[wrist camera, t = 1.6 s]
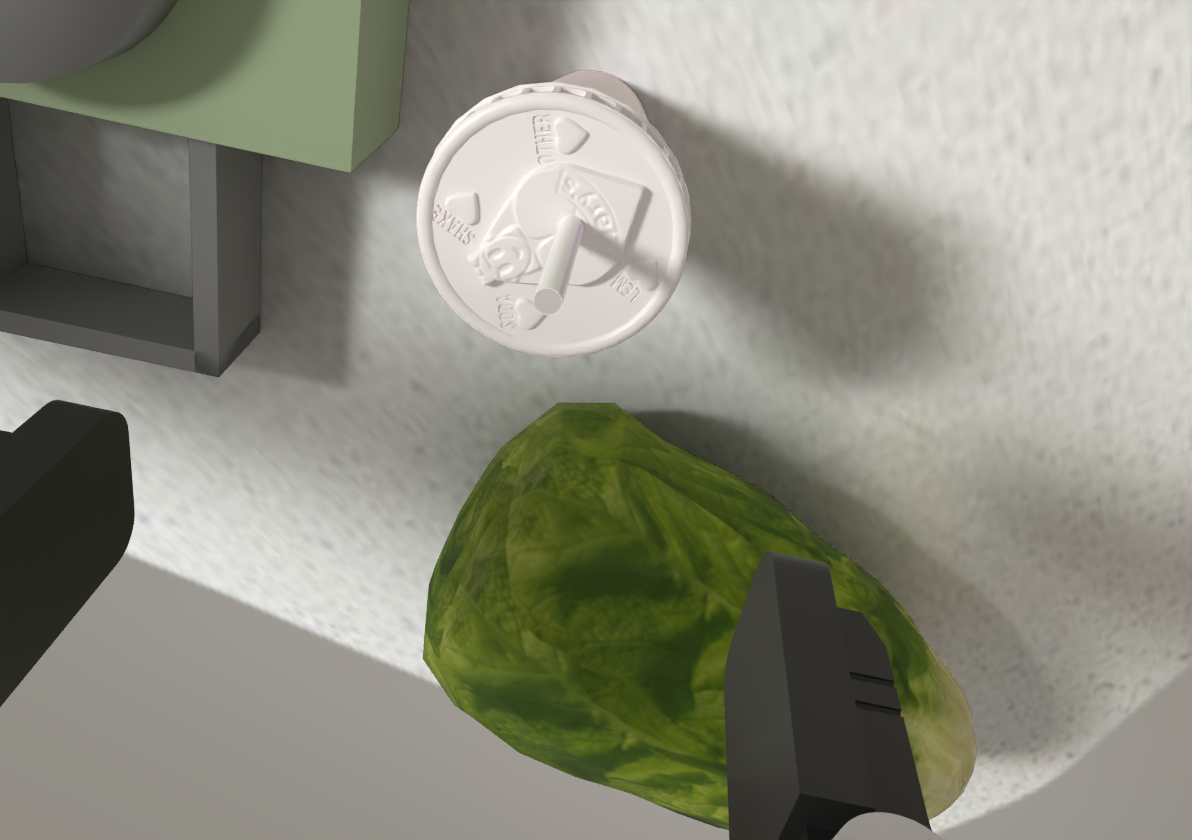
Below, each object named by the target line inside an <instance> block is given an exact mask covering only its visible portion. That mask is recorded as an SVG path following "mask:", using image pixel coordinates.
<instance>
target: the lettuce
mask: <svg viewBox="0 0 1192 840" xmlns="http://www.w3.org/2000/svg"><path fill="white" fill-rule="evenodd" d="M767 551H772V552H777V553H781V554H786V555H791V556H796V557H800V558H805V559H810V560H815V561H819V562H824V563H826V564H827V565H828V567H829V570H830V574H831V579H832V584H833V589H834V595H835V600H836V605H837V607H839V608H844V609H849V610H854V611H858V612H862V613H863V614H864V616H865V617H866V619H867V620H868V621H869V623H870V624H871V626H872V627H873V629H874V630H875V631H876V633H877V634H878V636H879V637H880V638H881V640H882V641H883V643H884V644H885V645H886V648H887V652H888V656H889V661H890V665H891V669H892V673H893V677H894V687H895V688H896V689H897V693H898V697H899V701H900V705H901V709H902V710H901V717H904V722H905V726H906V730H907V734H908V738H909V742H910V746H911V750H912V754H913V758H914V762H915V766H916V770H917V774H918V778H919V783H920V787H921V791H922V795H923V799H924V803H925V807H926V811H927V815H928V819H929V820H930V819H932V818H934V817H936V816H938V815H939V814H941V813H942V812H943V811H945V810H946V809H947V808H949V807H950V806H951V805H952V804H953V803H954V802H955V801H956V800H957V798H958V797H959V796H960V795H961V794H962V793H963V792H964V790H965V788H966V786H967V784H968V782H969V780H970V778H971V776H972V774H973V770H974V764H975V759H976V753H977V750H976V742H975V735H974V727H973V720H972V713H971V711H970V708H969V705H968V703H967V700H966V698H965V695H964V694H963V692H962V690H961V689H960V687H959V685H958V684H957V682H956V680H955V679H954V677H953V676H952V674H951V673H950V672H949V670H948V669H947V668H946V667H945V665H944V664H943V663H942V662H941V661H940V659H939V658H938V657H937V656H936V654H935V653H934V652H933V651H932V650H931V648H930V647H929V646H928V645H927V644H926V642H925V641H924V639H923V637H922V636H921V634H920V632H919V631H918V629H917V627H916V626H915V624H914V622H913V621H912V619H911V617H910V616H909V614H908V612H907V611H906V610H905V609H904V608H903V607H902V606H901V605H900V604H899V603H898V602H897V600H896V599H895V598H894V597H893V596H892V595H891V594H890V593H889V592H888V591H887V590H886V589H885V588H884V587H883V585H882V584H881V583H879V582H878V581H877V580H876V579H874V578H873V577H872V576H871V575H869V574H868V573H867V572H866V571H864V570H863V569H862V568H861V567H859V566H858V565H857V564H856V563H854V562H853V561H852V560H851V559H849V558H848V557H847V556H845V555H844V554H842V553H841V552H839V551H838V550H836V549H835V548H834V547H832V546H831V545H829V544H828V543H826V542H825V541H824V540H822V539H821V538H819V537H818V536H816V535H815V534H814V533H813V532H812V531H810V530H809V529H808V528H807V527H806V526H805V525H804V524H803V523H802V522H801V521H800V520H798V519H797V518H796V517H795V516H794V515H793V514H792V513H791V512H790V511H789V510H787V509H786V508H785V507H784V506H783V505H782V504H781V503H780V502H779V501H778V500H776V499H775V498H774V497H773V496H771V495H770V494H768V493H766V492H764V491H762V490H760V489H759V488H757V487H755V486H753V485H751V484H749V483H748V482H746V481H744V480H742V479H740V478H738V477H737V476H735V475H733V474H731V473H729V472H727V471H726V470H724V469H722V468H720V467H718V466H716V465H714V464H712V463H710V462H708V461H705V460H703V459H701V458H699V457H697V456H695V455H693V454H691V453H689V452H687V451H685V450H683V449H681V448H678V447H676V446H674V445H672V444H670V443H668V442H666V441H665V440H663V439H662V438H661V437H659V436H658V435H657V434H655V433H654V432H653V431H651V430H650V429H649V428H647V427H646V426H645V425H643V424H642V423H641V422H639V421H638V420H637V419H635V418H634V417H633V416H631V415H630V414H629V413H627V412H626V411H625V410H623V409H622V408H621V407H619V406H618V405H617V404H615V403H558V404H556V405H555V406H554V407H552V408H551V409H550V410H549V411H547V412H546V413H545V414H543V415H542V416H541V417H540V418H538V419H537V420H536V421H534V422H533V423H532V424H531V425H529V426H528V427H527V428H526V429H524V430H523V431H522V432H521V433H519V434H518V435H517V436H515V437H514V438H513V439H512V440H510V441H509V442H508V443H507V444H505V445H504V446H503V447H502V448H501V449H500V451H499V452H498V453H497V455H496V456H495V457H494V459H493V460H492V461H491V463H490V464H489V466H488V467H487V469H486V470H485V472H484V473H483V475H482V477H481V478H480V480H479V481H478V483H477V484H476V486H475V488H474V489H473V491H472V492H471V494H470V496H469V497H468V499H467V501H466V502H465V504H464V506H463V507H462V509H461V510H460V512H459V515H458V517H457V519H456V521H455V523H454V525H453V527H452V530H451V532H450V534H449V536H448V538H447V540H446V542H445V545H444V547H443V549H442V552H441V554H440V556H439V559H438V561H437V563H436V565H435V568H434V571H433V574H432V577H431V580H430V583H429V590H428V601H427V613H426V624H425V635H424V650H423V660H424V661H425V663H426V664H427V666H428V667H429V669H430V670H431V672H432V673H433V674H434V676H435V677H436V679H437V680H438V682H439V683H440V685H441V686H442V688H443V689H444V691H445V692H446V694H447V695H448V697H449V698H450V700H451V701H452V702H453V704H454V705H455V706H456V707H458V708H459V709H461V710H462V711H464V712H465V713H467V714H468V715H470V716H471V717H473V718H474V719H475V720H477V721H478V722H479V723H481V724H482V725H483V726H485V727H486V728H487V729H489V730H490V731H491V732H493V733H494V734H495V735H497V736H498V737H499V738H500V739H502V740H503V741H504V742H506V743H507V744H509V745H510V746H511V747H512V748H514V749H515V750H516V751H518V752H519V753H521V754H524V755H526V756H529V757H531V758H533V759H535V760H537V761H540V762H542V763H544V764H547V765H549V766H551V767H554V768H556V769H558V770H561V771H563V772H565V773H568V774H570V775H572V776H575V777H578V778H581V779H584V780H588V781H591V782H595V783H598V784H601V785H604V786H608V787H611V788H615V789H618V790H621V791H624V792H628V793H631V794H633V795H636V796H638V797H640V798H643V799H645V800H648V801H650V802H653V803H655V804H657V805H659V806H662V807H664V808H666V809H669V810H671V811H674V812H676V813H678V814H681V815H684V816H687V817H690V818H692V819H695V820H698V821H701V822H704V823H706V824H709V825H712V826H715V827H718V828H723V829H728V830H729V813H728V787H727V760H726V734H725V707H724V676H725V667H726V661H727V656H728V651H729V647H730V643H731V640H732V637H733V634H734V631H735V629H736V626H737V623H738V620H739V618H740V615H741V612H742V609H743V607H744V604H745V601H746V599H747V596H748V593H749V590H750V588H751V585H752V582H753V579H754V577H755V574H756V571H757V568H758V566H759V563H760V561H761V559H762V557H763V555H764V554H765V553H766V552H767Z"/></svg>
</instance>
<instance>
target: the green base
mask: <svg viewBox="0 0 1192 840" xmlns="http://www.w3.org/2000/svg"><path fill="white" fill-rule="evenodd" d="M408 10H409V0H0V331H2V332H7V333H11V334H16V335H21V336H26V337H30V338H35V339H40V340H45V341H49V342H54V343H59V344H64V345H68V346H73V347H78V348H83V349H87V350H92V351H97V352H101V353H106V354H111V355H116V356H120V357H125V358H130V359H135V360H139V361H144V362H149V363H154V364H158V365H163V366H168V367H173V368H177V369H182V370H187V371H192V372H196V373H201V374H206V375H211V376H215V377H220V375H221V374H222V373H223V372H224V371H225V370H226V369H227V368H228V367H229V366H230V364H231V363H232V362H233V361H234V360H235V359H236V358H237V357H238V356H239V355H240V353H241V352H242V351H243V350H244V349H245V348H246V347H247V346H248V345H249V344H250V342H251V341H252V340H253V339H254V338H255V337H256V336H257V335H258V334H259V333H260V264H261V180H262V154H266V155H271V156H275V157H280V158H284V159H289V160H294V161H298V162H303V163H307V164H312V165H317V166H321V167H326V168H330V169H335V170H340V171H344V172H349V173H351V172H352V171H353V170H354V169H355V168H356V167H357V166H359V165H360V164H361V163H362V162H363V161H364V160H365V159H366V158H367V157H368V156H369V155H370V154H372V153H373V152H374V151H375V150H376V149H377V148H378V147H379V146H380V145H381V144H382V143H383V142H384V141H386V140H387V139H388V138H389V137H390V136H391V135H392V134H393V133H394V132H395V131H396V130H397V129H398V127H399V115H400V103H401V91H402V80H403V68H404V56H405V45H406V33H407V21H408ZM7 98H8V99H13V100H18V101H22V102H27V103H31V104H36V105H41V106H45V107H50V108H54V109H59V110H64V111H68V112H73V113H77V114H82V115H87V116H91V117H96V118H100V119H105V120H110V121H114V122H119V123H123V124H128V125H133V126H137V127H142V128H146V129H151V130H156V131H160V132H165V133H169V134H174V135H179V136H183V137H188V140H189V176H190V211H191V247H192V283H193V298H189V297H184V296H179V295H175V294H170V293H165V292H161V291H156V290H151V289H147V288H142V287H137V286H133V285H128V284H123V283H118V282H114V281H109V280H104V279H100V278H95V277H90V276H86V275H81V274H76V273H71V272H67V271H62V270H57V269H53V268H48V267H43V266H39V265H34V264H29V263H28V262H27V254H26V246H25V238H24V230H23V222H22V213H21V205H20V197H19V189H18V181H17V173H16V165H15V157H14V149H13V141H12V133H11V125H10V117H9V109H8V101H7Z"/></svg>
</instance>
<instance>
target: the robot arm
mask: <svg viewBox="0 0 1192 840" xmlns="http://www.w3.org/2000/svg"><path fill="white" fill-rule="evenodd" d="M133 525H134V498H133V485H132V471H131V458H130V444H129V431H128V425H127V422H126V419H125V417H124V416H123V415H122V414H120V413H118V412H114V411H109V410H104V409H99V408H95V407H90V406H85V405H80V404H76V403H71V402H66V401H61V400H54V401H51V402H49V403H48V404H46V405H45V406H43V407H42V408H41V409H40V410H39V411H38V412H36V413H35V414H34V415H33V416H32V417H30V418H29V419H28V420H27V421H26V422H25V423H23V424H22V425H21V426H20V427H19V428H17V429H16V430H15V431H14V432H13V433H11V432H6V431H1V430H0V707H1V706H2V704H3V703H4V702H5V701H6V699H7V698H8V697H9V695H10V694H11V693H12V692H13V691H14V690H15V688H16V687H17V686H18V685H19V683H20V682H21V681H22V680H23V678H24V677H25V676H26V675H27V674H28V672H29V671H30V670H31V669H32V668H33V666H34V665H35V664H36V663H37V661H38V660H39V659H40V658H41V657H42V655H43V654H44V653H45V652H46V650H47V649H48V648H49V647H50V645H51V644H52V643H53V642H54V640H55V639H56V638H57V637H58V636H59V634H60V633H61V632H62V631H63V630H64V628H65V627H66V626H67V625H68V623H69V622H70V621H71V620H72V618H73V617H74V616H75V615H76V614H77V612H78V611H79V610H80V609H81V607H82V606H83V605H84V604H85V603H86V601H87V600H88V599H89V598H90V596H91V595H92V594H93V593H94V592H95V590H96V589H97V588H98V587H99V585H100V584H101V583H102V582H103V580H104V579H105V578H106V577H107V576H108V574H109V573H110V572H111V571H112V570H113V568H114V567H115V566H116V565H117V563H118V562H119V561H120V559H121V557H122V556H123V554H124V552H125V550H126V548H127V546H128V543H129V540H130V537H131V534H132V530H133ZM724 707H725V734H726V760H727V787H728V813H729V839H730V840H943V839H942V838H941V837H940V836H938V835H937V834H936V833H934V832H933V831H932V830H931V827H930V823H929V819H928V815H927V811H926V807H925V803H924V799H923V795H922V791H921V787H920V783H919V778H918V774H917V770H916V766H915V762H914V758H913V754H912V750H911V746H910V742H909V738H908V734H907V730H906V726H905V722H904V717H901V710H902V709H901V705H900V701H899V697H898V693H897V689H896V688H895V687H894V677H893V673H892V669H891V665H890V661H889V656H888V652H887V648H886V645H885V644H884V643H883V641H882V640H881V638H880V637H879V636H878V634H877V633H876V631H875V630H874V629H873V627H872V626H871V624H870V623H869V621H868V620H867V619H866V617H865V616H864V614H863V613H862V612H858V611H854V610H849V609H844V608H839V607H837V605H836V600H835V595H834V589H833V584H832V579H831V574H830V570H829V567H828V565H827V564H826V563H824V562H819V561H815V560H810V559H805V558H800V557H796V556H791V555H786V554H781V553H777V552H772V551H767V552H766V553H765V554H764V555H763V557H762V559H761V561H760V563H759V566H758V568H757V571H756V574H755V577H754V579H753V582H752V585H751V588H750V590H749V593H748V596H747V599H746V601H745V604H744V607H743V609H742V612H741V615H740V618H739V620H738V623H737V626H736V629H735V631H734V634H733V637H732V640H731V643H730V647H729V651H728V656H727V661H726V667H725V676H724Z"/></svg>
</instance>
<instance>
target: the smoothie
mask: <svg viewBox="0 0 1192 840" xmlns="http://www.w3.org/2000/svg"><path fill="white" fill-rule="evenodd" d="M416 223H417V235H418V241H419V246H420V250H421V254H422V258H423V260H424V263H425V266H426V269H427V271H428V273H429V275H430V277H431V279H432V281H433V283H434V285H435V286H436V288H437V290H438V291H439V293H440V294H441V295H442V297H443V298H444V300H445V301H446V302H447V303H448V305H449V306H450V307H451V308H452V309H453V310H454V312H455V313H457V314H458V315H459V316H460V317H461V318H462V319H463V320H464V321H465V322H466V323H467V324H469V325H470V326H471V327H472V328H474V329H475V330H477V331H478V332H480V333H481V334H483V335H484V336H486V337H488V338H489V339H491V340H493V341H495V342H497V343H499V344H501V345H504V346H506V347H508V348H511V349H514V350H517V351H520V352H524V353H528V354H533V355H539V356H548V357H572V356H581V355H586V354H591V353H595V352H599V351H602V350H605V349H608V348H610V347H613V346H615V345H617V344H619V343H621V342H623V341H625V340H627V339H628V338H630V337H632V336H633V335H635V334H636V333H638V332H639V331H640V330H642V329H643V328H644V327H645V326H647V325H648V324H649V323H650V322H651V321H652V320H653V319H654V318H655V317H656V316H657V315H658V313H659V312H660V311H661V310H662V309H663V308H664V306H665V305H666V303H667V302H668V300H669V299H670V298H671V296H672V294H673V292H674V290H675V289H676V287H677V284H678V282H679V280H680V277H681V275H682V272H683V269H684V265H685V262H686V257H687V252H688V244H689V240H690V235H691V231H692V229H691V211H690V195H689V192H688V189H687V186H686V183H685V180H684V177H683V174H682V171H681V168H680V165H679V162H678V160H677V159H676V157H675V156H674V154H673V153H672V151H671V150H670V148H669V147H668V145H667V144H666V142H665V141H664V139H663V138H662V136H661V135H660V133H659V132H658V130H657V129H656V128H654V127H653V126H652V125H651V124H650V123H649V122H648V119H647V116H646V114H645V111H644V109H643V107H642V104H641V102H640V101H639V99H638V97H637V96H636V95H635V93H634V92H633V91H632V90H631V89H630V88H629V87H628V86H627V85H626V84H625V83H624V82H622V81H621V80H619V79H618V78H616V77H614V76H612V75H609V74H607V73H603V72H599V71H591V70H585V71H577V72H573V73H570V74H567V75H565V76H563V77H560V78H558V79H556V80H554V81H552V82H545V83H534V84H523V85H517V86H515V87H512V88H510V89H507V90H504V91H502V92H499V93H497V94H494V95H492V96H489V97H487V98H484V99H483V100H482V101H480V102H479V103H478V104H476V105H475V106H474V107H473V108H471V109H470V110H469V111H467V112H466V113H465V114H464V115H462V116H461V117H460V118H458V119H457V120H456V121H455V122H454V124H453V125H452V127H451V128H450V129H449V131H448V132H447V133H446V135H445V136H444V138H443V139H442V140H441V142H440V143H439V145H438V146H437V147H436V149H435V151H434V154H433V156H432V158H431V160H430V162H429V164H428V166H427V168H426V171H425V173H424V176H423V179H422V182H421V186H420V190H419V194H418V201H417V213H416Z"/></svg>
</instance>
